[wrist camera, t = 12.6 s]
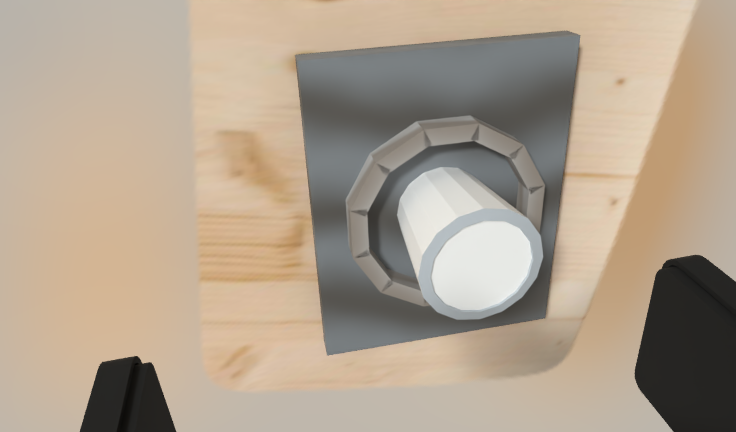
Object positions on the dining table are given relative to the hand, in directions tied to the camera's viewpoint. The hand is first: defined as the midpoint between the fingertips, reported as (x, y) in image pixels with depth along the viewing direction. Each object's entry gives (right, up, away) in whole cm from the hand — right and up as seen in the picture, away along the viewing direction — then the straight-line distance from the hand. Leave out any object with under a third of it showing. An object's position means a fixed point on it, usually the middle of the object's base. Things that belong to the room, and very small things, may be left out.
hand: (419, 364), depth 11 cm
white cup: (+4, +3, +26) cm, 26 cm away
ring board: (+3, +4, +27) cm, 27 cm away
